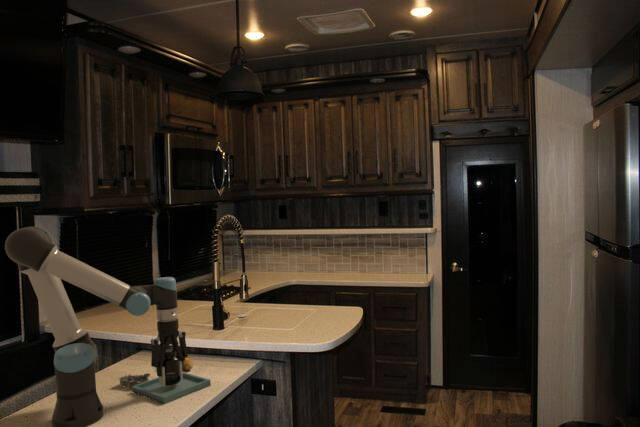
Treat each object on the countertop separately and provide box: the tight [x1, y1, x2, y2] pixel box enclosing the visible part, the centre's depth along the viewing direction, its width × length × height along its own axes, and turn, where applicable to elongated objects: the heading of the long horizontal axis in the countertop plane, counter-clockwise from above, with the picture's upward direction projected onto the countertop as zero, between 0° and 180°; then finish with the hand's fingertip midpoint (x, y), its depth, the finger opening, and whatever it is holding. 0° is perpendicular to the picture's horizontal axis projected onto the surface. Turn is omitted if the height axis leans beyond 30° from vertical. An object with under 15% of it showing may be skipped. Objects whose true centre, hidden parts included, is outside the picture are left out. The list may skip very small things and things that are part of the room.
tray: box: [131, 371, 212, 405], centre depth 190 cm, size 20×20×2 cm
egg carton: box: [117, 372, 151, 388], centre depth 197 cm, size 11×8×4 cm
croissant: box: [182, 356, 194, 371], centre depth 217 cm, size 21×10×8 cm, turn 51°
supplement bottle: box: [162, 348, 181, 385], centre depth 190 cm, size 7×7×12 cm
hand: (171, 381), depth 190 cm, fingers open, 7 cm apart
